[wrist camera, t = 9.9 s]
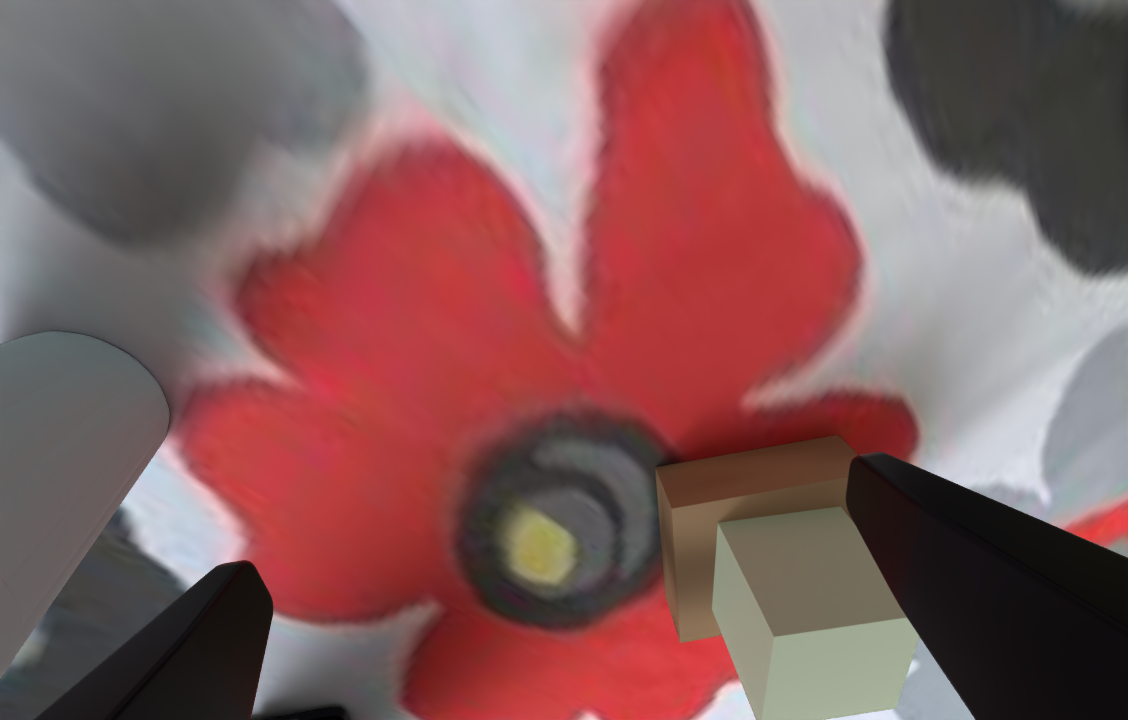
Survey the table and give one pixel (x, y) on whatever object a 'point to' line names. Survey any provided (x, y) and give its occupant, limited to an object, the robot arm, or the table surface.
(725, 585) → the sage cube
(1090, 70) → the table surface
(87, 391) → the cup
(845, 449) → the base brick
